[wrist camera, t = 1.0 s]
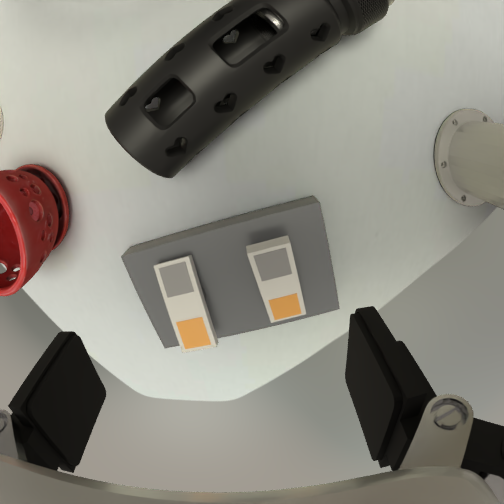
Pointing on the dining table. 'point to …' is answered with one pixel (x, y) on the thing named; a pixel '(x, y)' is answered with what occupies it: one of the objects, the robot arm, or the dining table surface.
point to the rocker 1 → (186, 304)
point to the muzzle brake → (227, 73)
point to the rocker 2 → (277, 278)
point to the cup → (1, 123)
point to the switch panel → (238, 267)
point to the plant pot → (29, 222)
